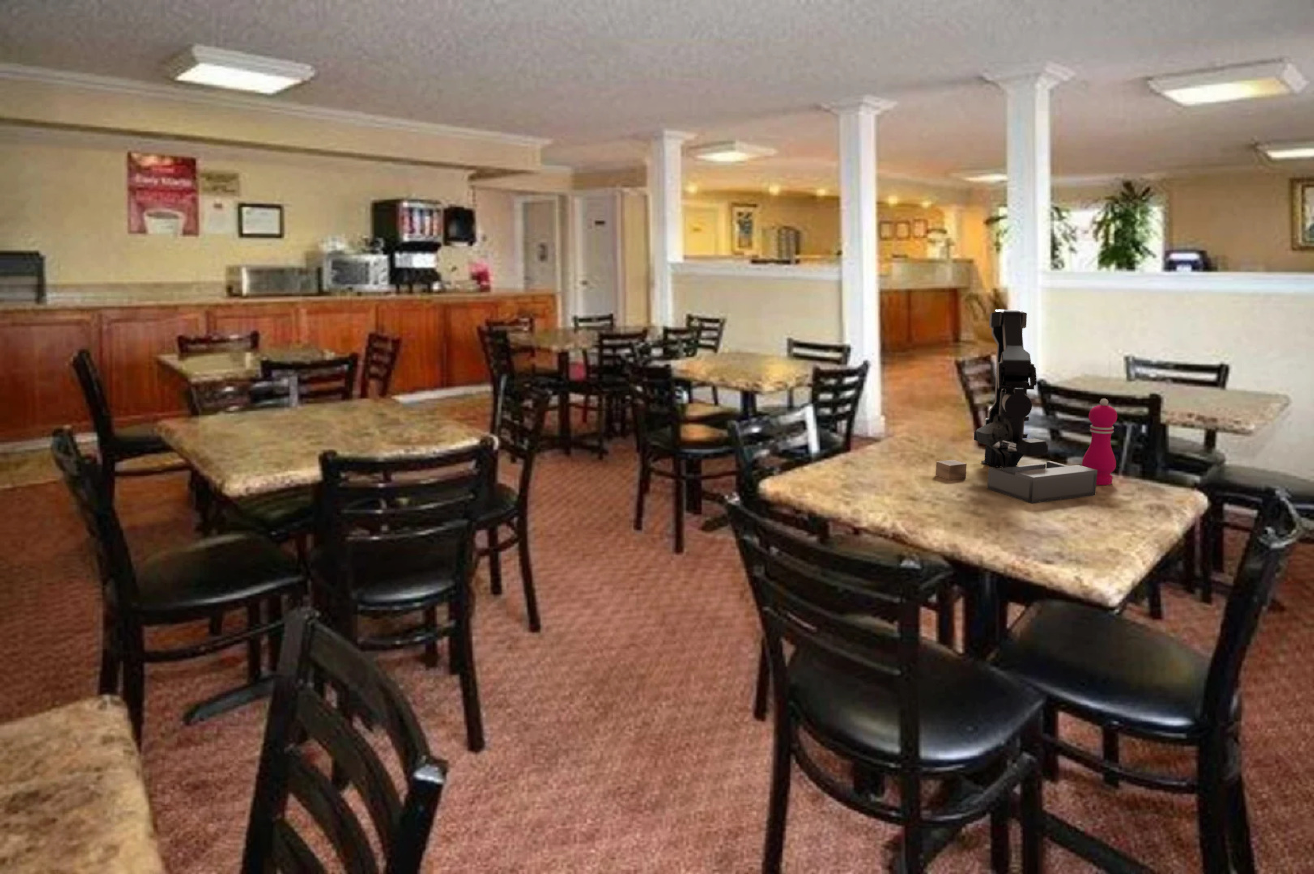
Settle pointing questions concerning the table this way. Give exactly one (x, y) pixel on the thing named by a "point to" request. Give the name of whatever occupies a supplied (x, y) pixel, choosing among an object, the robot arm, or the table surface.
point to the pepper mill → (1101, 442)
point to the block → (951, 469)
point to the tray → (1023, 468)
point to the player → (1045, 482)
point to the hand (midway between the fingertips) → (1007, 476)
